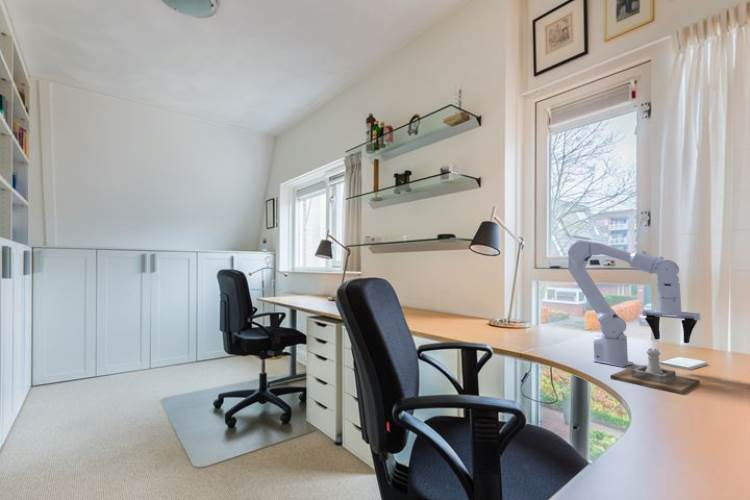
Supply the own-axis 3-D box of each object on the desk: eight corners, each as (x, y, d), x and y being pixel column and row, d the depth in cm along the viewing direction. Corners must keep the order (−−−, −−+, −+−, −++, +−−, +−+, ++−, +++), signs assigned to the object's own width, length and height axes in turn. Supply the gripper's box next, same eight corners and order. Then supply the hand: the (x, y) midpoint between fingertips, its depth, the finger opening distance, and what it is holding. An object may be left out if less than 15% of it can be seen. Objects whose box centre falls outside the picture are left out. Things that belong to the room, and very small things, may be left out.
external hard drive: (707, 366, 122) (688, 372, 117) (678, 361, 130) (659, 366, 124) (707, 361, 123) (688, 366, 117) (678, 356, 130) (658, 361, 124)
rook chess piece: (666, 380, 104) (664, 351, 105) (647, 378, 106) (646, 350, 106) (661, 375, 108) (659, 348, 109) (643, 374, 110) (641, 347, 110)
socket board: (610, 378, 110) (609, 368, 110) (631, 370, 118) (630, 361, 118) (681, 394, 96) (680, 382, 96) (699, 383, 104) (699, 372, 104)
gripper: (637, 297, 121) (639, 338, 121) (693, 300, 109) (696, 346, 109) (646, 296, 125) (648, 336, 125) (701, 298, 113) (704, 343, 113)
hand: (671, 340), depth 117 cm, fingers open, 7 cm apart
